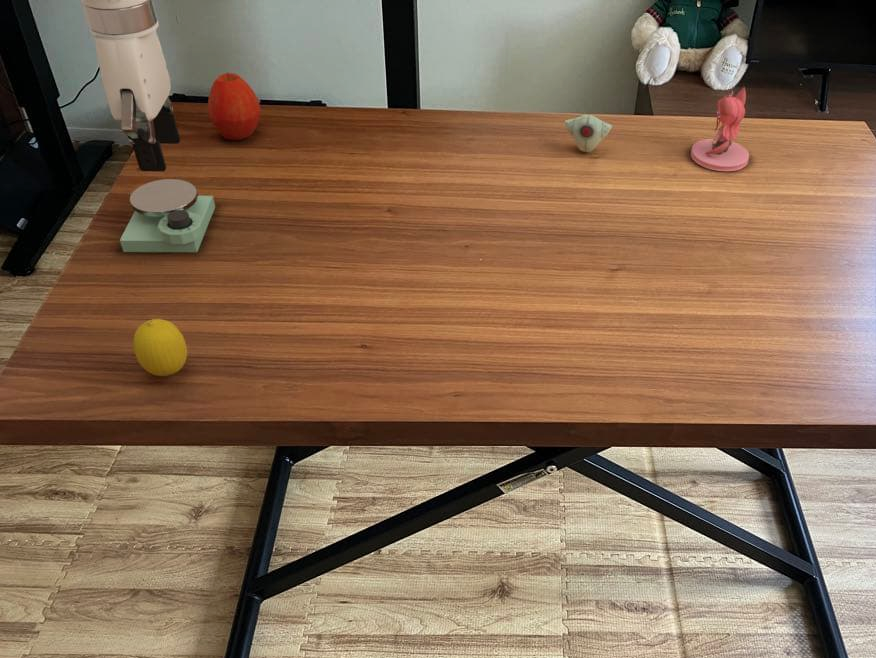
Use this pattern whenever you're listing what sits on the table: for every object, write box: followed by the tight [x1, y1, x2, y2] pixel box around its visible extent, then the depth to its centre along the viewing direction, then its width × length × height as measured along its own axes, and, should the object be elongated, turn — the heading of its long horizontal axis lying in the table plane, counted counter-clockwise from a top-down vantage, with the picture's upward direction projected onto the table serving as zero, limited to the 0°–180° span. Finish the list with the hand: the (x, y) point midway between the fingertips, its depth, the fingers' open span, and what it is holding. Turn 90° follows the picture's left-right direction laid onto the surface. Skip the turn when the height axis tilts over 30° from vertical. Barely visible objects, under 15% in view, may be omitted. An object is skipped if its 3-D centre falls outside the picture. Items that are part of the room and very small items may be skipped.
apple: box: [207, 72, 261, 142], centre depth 142 cm, size 8×8×11 cm
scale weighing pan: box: [129, 178, 199, 217], centre depth 124 cm, size 9×9×1 cm
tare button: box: [167, 210, 191, 230], centre depth 120 cm, size 3×3×2 cm
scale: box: [119, 195, 216, 253], centre depth 124 cm, size 13×11×4 cm
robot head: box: [564, 114, 613, 153], centre depth 145 cm, size 8×4×7 cm, turn 82°
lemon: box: [133, 318, 188, 377], centre depth 100 cm, size 6×6×8 cm
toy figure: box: [690, 86, 750, 172], centre depth 144 cm, size 10×10×12 cm
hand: (160, 155), depth 113 cm, fingers open, 6 cm apart
